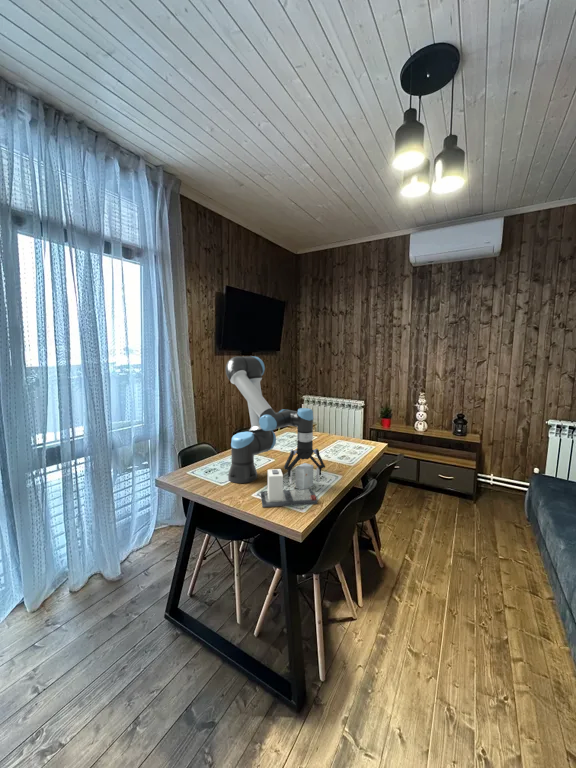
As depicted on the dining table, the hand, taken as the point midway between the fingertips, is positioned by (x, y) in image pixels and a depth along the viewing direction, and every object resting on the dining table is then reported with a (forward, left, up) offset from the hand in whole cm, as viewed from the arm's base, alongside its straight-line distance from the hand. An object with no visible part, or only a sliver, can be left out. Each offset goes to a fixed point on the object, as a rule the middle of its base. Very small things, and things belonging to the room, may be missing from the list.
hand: (304, 482), depth 152 cm
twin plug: (-16, -12, 0) cm, 20 cm away
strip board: (-10, -12, -2) cm, 16 cm away
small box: (0, 0, -2) cm, 2 cm away
